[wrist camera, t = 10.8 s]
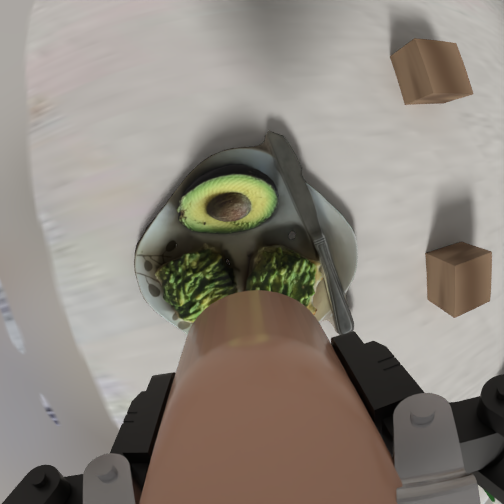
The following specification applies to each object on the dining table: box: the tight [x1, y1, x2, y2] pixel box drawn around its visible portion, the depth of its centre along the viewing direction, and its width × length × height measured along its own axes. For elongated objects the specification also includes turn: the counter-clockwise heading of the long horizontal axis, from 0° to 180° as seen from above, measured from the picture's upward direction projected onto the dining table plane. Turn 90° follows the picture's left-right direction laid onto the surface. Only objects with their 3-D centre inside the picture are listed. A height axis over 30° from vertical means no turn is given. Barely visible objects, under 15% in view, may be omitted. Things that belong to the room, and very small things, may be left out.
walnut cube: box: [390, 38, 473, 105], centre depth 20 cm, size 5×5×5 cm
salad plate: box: [134, 131, 357, 335], centre depth 24 cm, size 19×18×5 cm
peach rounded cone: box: [139, 290, 403, 504], centre depth 7 cm, size 5×5×8 cm
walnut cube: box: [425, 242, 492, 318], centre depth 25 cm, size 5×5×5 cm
